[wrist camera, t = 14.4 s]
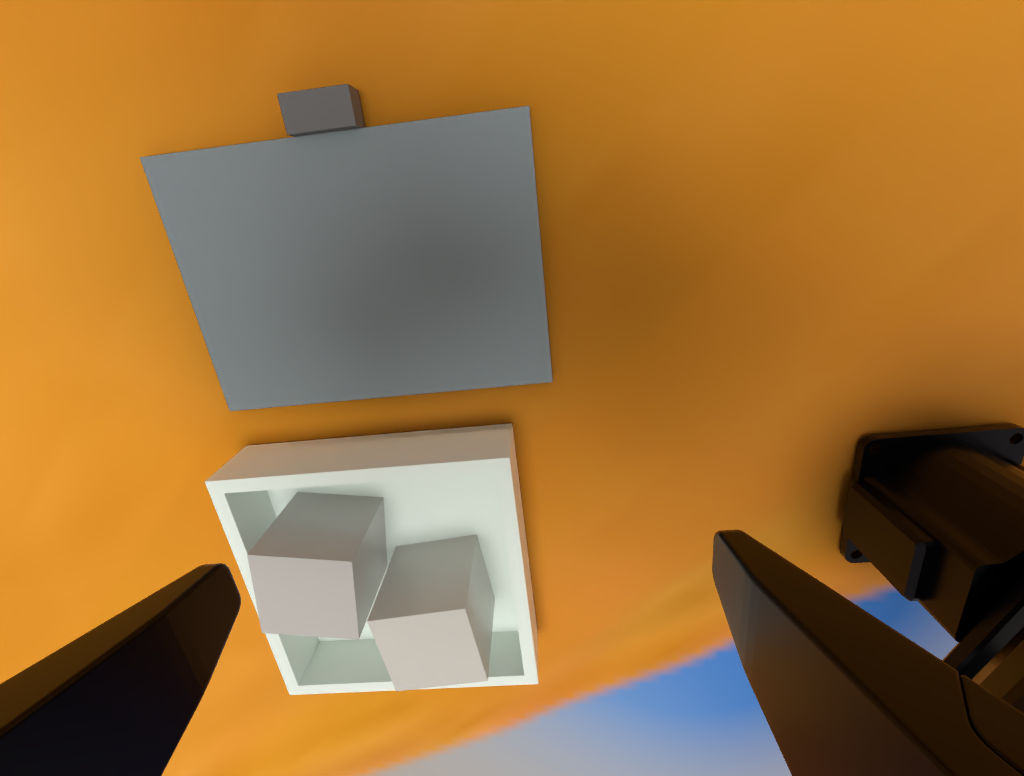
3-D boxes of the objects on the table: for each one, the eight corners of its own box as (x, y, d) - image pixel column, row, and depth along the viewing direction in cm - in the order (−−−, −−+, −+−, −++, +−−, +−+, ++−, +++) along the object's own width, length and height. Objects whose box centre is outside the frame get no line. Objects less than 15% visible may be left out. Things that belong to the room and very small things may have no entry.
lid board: (525, 67, 16) (525, 58, 15) (552, 378, 20) (553, 387, 19) (135, 121, 17) (112, 116, 16) (235, 407, 21) (221, 417, 20)
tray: (512, 423, 21) (509, 457, 18) (537, 630, 25) (538, 683, 23) (246, 445, 22) (204, 481, 19) (315, 642, 26) (289, 694, 23)
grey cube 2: (383, 497, 22) (351, 561, 18) (387, 566, 23) (359, 639, 20) (297, 491, 22) (247, 555, 18) (306, 561, 24) (262, 632, 20)
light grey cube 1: (476, 534, 23) (465, 608, 18) (495, 598, 24) (487, 680, 20) (396, 546, 23) (366, 621, 19) (418, 608, 24) (396, 691, 20)
